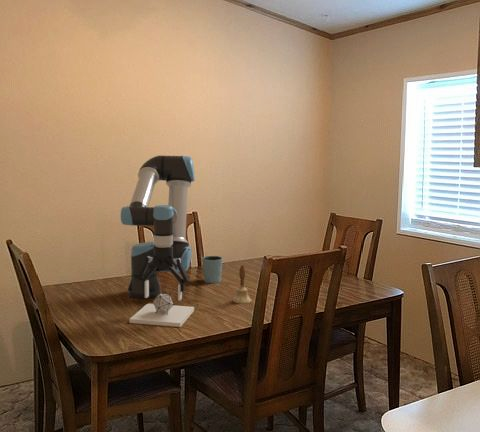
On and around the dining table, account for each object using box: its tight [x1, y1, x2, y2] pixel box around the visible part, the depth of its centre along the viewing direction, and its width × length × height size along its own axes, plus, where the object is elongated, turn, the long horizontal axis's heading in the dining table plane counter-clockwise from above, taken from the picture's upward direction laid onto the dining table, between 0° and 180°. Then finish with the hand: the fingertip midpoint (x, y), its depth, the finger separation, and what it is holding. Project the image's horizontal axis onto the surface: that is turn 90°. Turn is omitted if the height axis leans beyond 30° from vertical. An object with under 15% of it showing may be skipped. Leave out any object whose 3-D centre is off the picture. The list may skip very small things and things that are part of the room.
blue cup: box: [201, 255, 224, 284], centre depth 254 cm, size 10×10×12 cm
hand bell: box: [232, 264, 252, 305], centre depth 222 cm, size 8×8×16 cm
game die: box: [150, 292, 176, 315], centre depth 200 cm, size 9×8×10 cm
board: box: [128, 303, 195, 328], centre depth 200 cm, size 20×20×2 cm
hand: (163, 298), depth 200 cm, fingers open, 13 cm apart
